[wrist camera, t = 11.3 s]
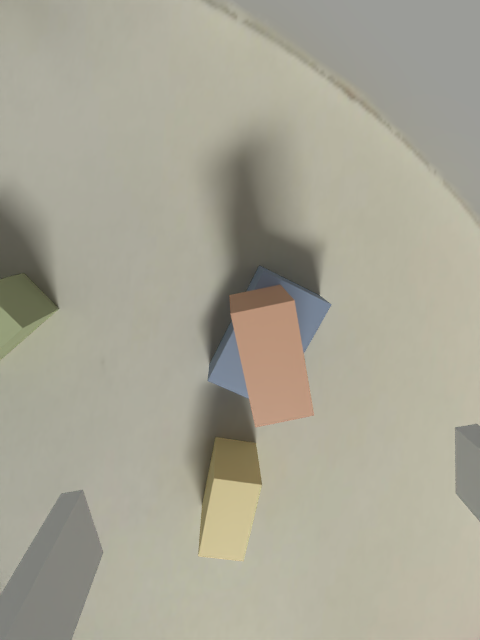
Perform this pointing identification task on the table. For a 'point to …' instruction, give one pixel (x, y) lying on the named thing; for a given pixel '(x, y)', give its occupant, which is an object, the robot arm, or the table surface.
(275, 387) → the brick terracotta
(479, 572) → the table surface
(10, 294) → the brick olive
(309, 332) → the brick slate
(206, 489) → the brick ochre
